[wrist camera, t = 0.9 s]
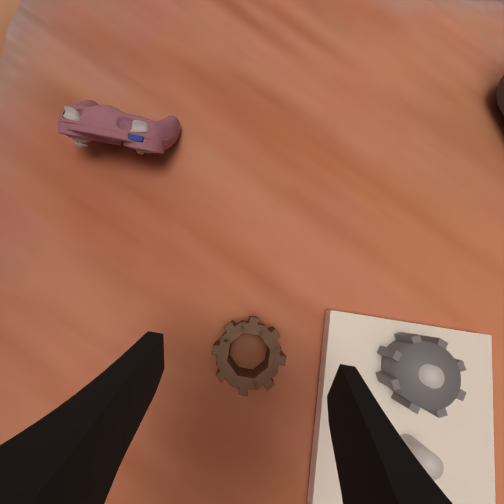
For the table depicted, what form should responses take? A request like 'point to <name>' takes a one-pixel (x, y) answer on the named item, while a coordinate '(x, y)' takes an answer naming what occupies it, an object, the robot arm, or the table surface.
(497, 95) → the alarm clock
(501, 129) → the table surface
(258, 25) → the table surface
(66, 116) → the pink irregular piece
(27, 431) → the robot arm
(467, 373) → the gear board
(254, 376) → the walnut gear
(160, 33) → the table surface
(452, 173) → the table surface
